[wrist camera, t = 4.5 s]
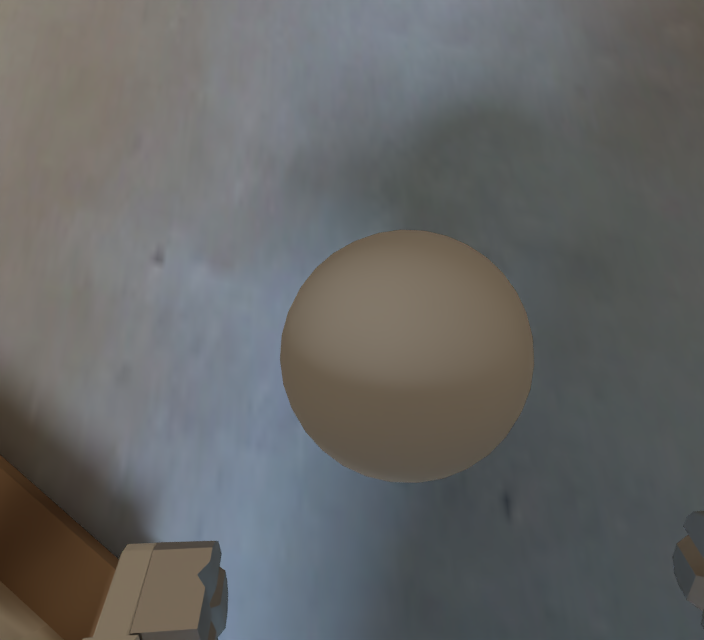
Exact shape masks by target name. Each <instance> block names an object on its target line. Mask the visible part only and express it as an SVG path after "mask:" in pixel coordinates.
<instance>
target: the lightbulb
mask: <svg viewBox="0 0 704 640" xmlns="http://www.w3.org/2000/svg"><path fill="white" fill-rule="evenodd" d="M280 363H281V370H282V377H283V384H284V387H285V390H286V393H287V396H288V399H289V402H290V405H291V407H292V409H293V411H294V413H295V415H296V416H297V418H298V420H299V421H300V423H301V425H302V426H303V428H304V430H305V432H306V433H307V434H308V435H309V436H310V437H311V438H312V439H313V440H314V442H315V443H316V444H317V445H318V446H319V447H320V448H321V449H322V450H323V451H324V452H325V453H327V454H328V455H329V456H331V457H332V458H333V459H335V460H336V461H337V462H339V463H340V464H341V465H343V466H345V467H347V468H349V469H352V470H354V471H356V472H358V473H360V474H362V475H364V476H368V477H372V478H376V479H380V480H384V481H388V482H407V483H420V482H426V481H432V480H437V479H443V478H446V477H448V476H451V475H454V474H456V473H459V472H461V471H464V470H466V469H468V468H470V467H471V466H473V465H474V464H476V463H477V462H479V461H480V460H482V459H483V458H485V457H486V456H488V455H489V454H490V453H491V452H492V451H493V450H494V449H495V448H496V447H497V446H498V445H499V444H500V443H501V442H502V441H503V440H504V439H505V437H506V436H507V434H508V433H509V431H510V430H511V428H512V427H513V425H514V423H515V422H516V420H517V419H518V417H519V415H520V414H521V412H522V410H523V407H524V405H525V402H526V399H527V397H528V394H529V391H530V388H531V382H532V375H533V369H534V352H533V338H532V333H531V329H530V325H529V321H528V317H527V313H526V311H525V309H524V307H523V305H522V302H521V300H520V298H519V296H518V294H517V292H516V291H515V289H514V288H513V286H512V285H511V284H510V282H509V281H508V279H507V278H506V277H505V275H504V274H503V273H502V272H501V271H500V270H499V269H498V268H497V267H496V266H495V265H494V264H493V263H492V262H491V261H490V260H489V259H488V258H487V257H485V256H484V255H482V254H481V253H479V252H477V251H476V250H474V249H473V248H471V247H470V246H468V245H467V244H464V243H462V242H460V241H457V240H455V239H453V238H450V237H448V236H445V235H440V234H436V233H432V232H427V231H418V230H396V231H389V232H382V233H377V234H374V235H371V236H368V237H365V238H363V239H360V240H357V241H354V242H352V243H351V244H349V245H347V246H345V247H344V248H342V249H340V250H338V251H337V252H335V253H333V254H332V255H331V256H330V257H328V258H327V259H326V260H325V261H324V262H323V263H321V264H320V265H319V266H318V267H317V268H316V269H315V270H314V271H313V272H312V274H311V275H310V276H309V278H308V279H307V280H306V281H305V283H304V284H303V285H302V286H301V288H300V290H299V292H298V294H297V296H296V298H295V300H294V302H293V304H292V306H291V308H290V310H289V312H288V315H287V318H286V322H285V326H284V329H283V333H282V339H281V354H280Z"/></svg>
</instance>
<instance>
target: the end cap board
mask: <svg viewBox="0 0 704 640" xmlns="http://www.w3.org/2000/svg"><path fill="white" fill-rule="evenodd" d="M118 561H119V559H118V558H116V557H115V556H114V555H113V554H112V553H111V552H110V551H108V550H107V549H106V548H105V547H104V546H103V545H102V544H101V543H99V542H98V541H97V540H96V539H95V538H94V537H93V536H91V535H90V534H89V533H88V532H87V531H86V530H85V529H84V528H82V527H81V526H80V525H79V524H78V523H77V522H76V521H75V520H73V519H72V518H71V517H70V516H69V515H68V514H67V513H65V512H64V511H63V510H62V509H61V508H60V507H59V506H58V505H56V504H55V503H54V502H53V501H52V500H51V499H50V498H48V497H47V496H46V495H45V494H44V493H43V492H42V491H41V490H39V489H38V488H37V487H36V486H35V485H34V484H33V483H31V482H30V481H29V480H28V479H27V478H26V477H25V476H24V475H22V474H21V473H20V472H19V471H18V470H17V469H16V468H15V467H13V466H12V465H11V464H10V463H9V462H8V461H7V460H5V459H4V458H3V457H2V456H1V455H0V640H82V639H83V638H89V637H93V635H94V633H95V630H96V627H97V624H98V621H99V618H100V615H101V612H102V609H103V606H104V603H105V600H106V597H107V594H108V591H109V588H110V585H111V582H112V579H113V576H114V573H115V570H116V567H117V564H118Z"/></svg>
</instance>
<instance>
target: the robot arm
mask: <svg viewBox="0 0 704 640" xmlns="http://www.w3.org/2000/svg"><path fill="white" fill-rule="evenodd" d="M683 527H684V528H685V530H686V532H687V533H688V535H687V536H686V537H685V538H683V539H682V540H681V541H680V542H678V543H677V544H676V548H675V551H674V554H673V566H674V574H675V576H676V579H677V582H678V585H679V587H680V589H681V591H682V592H683V594H684V596H685V598H686V600H688V601H689V602H691V603H692V604H693V605H695V606H696V607H697V608H699V609H700V610H702V611H703V612H702V619H701V625H702V627H703V629H704V511H695V512H692V513H691V514H690V515H688V516H687V518H686V521H685V523H684V526H683ZM221 555H222V553H221V549H220V545H219V541H193V542H161V543H140V544H127V546H126V547H125V549H124V550H123V552H122V553H121V556H120V559H119V561H118V564H117V567H116V570H115V573H114V576H113V579H112V582H111V585H110V588H109V591H108V594H107V597H106V600H105V603H104V606H103V609H102V612H101V615H100V618H99V621H98V624H97V627H96V630H95V633H94V635H93V637H89V638H83V639H82V640H218V637H219V636H220V634H221V633H222V632H223V631H224V629H225V628H226V620H227V612H228V584H227V577H226V572H225V570H224V569H222V568H221V567H220V561H221Z"/></svg>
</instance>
